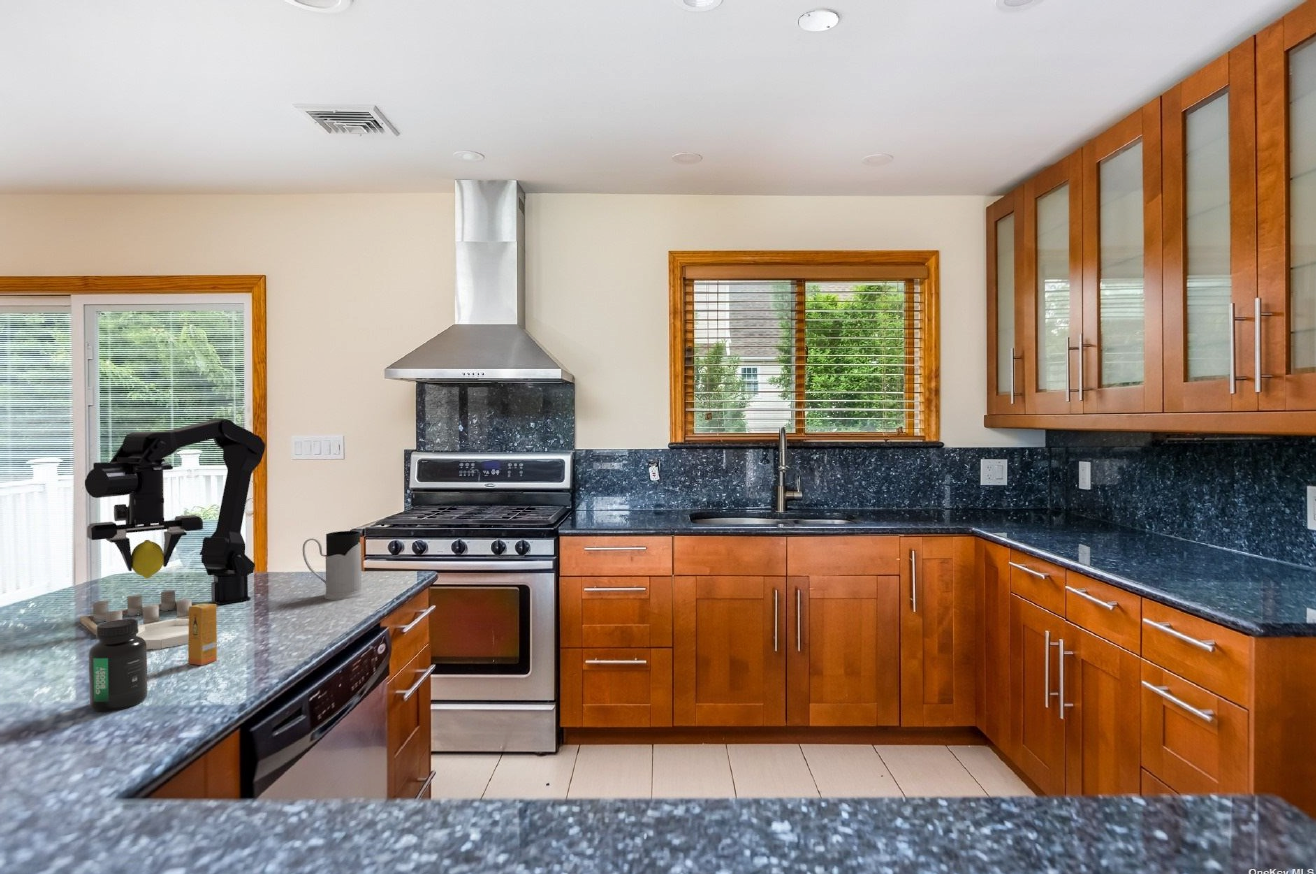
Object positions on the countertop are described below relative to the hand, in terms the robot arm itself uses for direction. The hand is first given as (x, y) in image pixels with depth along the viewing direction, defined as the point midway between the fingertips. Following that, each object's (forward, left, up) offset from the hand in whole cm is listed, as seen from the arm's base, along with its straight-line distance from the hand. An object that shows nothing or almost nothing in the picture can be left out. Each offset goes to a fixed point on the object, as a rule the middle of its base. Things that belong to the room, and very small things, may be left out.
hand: (147, 568), depth 144 cm
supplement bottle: (+14, +45, -12) cm, 49 cm away
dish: (0, +13, -12) cm, 18 cm away
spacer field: (0, -6, -12) cm, 13 cm away
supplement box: (0, +34, -12) cm, 36 cm away
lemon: (0, 0, -2) cm, 2 cm away
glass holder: (-36, +3, -12) cm, 38 cm away
